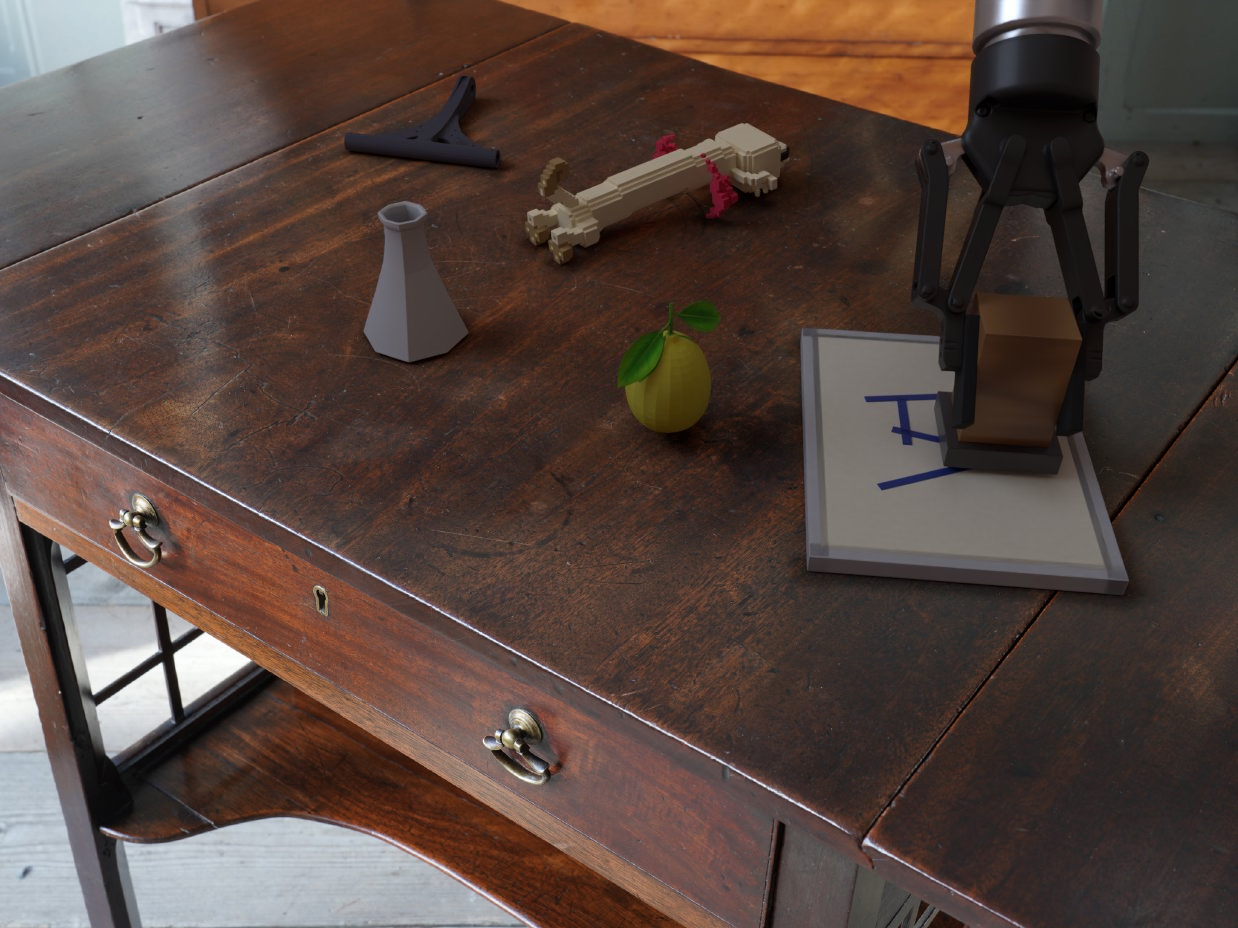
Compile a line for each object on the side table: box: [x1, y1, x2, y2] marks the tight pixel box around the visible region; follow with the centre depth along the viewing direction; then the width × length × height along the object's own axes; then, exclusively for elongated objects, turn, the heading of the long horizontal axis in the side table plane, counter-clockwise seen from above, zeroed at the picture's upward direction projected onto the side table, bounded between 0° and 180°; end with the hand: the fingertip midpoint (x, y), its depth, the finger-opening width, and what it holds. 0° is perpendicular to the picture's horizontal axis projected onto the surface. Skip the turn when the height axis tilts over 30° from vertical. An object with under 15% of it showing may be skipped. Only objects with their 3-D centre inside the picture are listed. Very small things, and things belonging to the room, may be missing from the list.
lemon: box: [616, 299, 722, 434], centre depth 78 cm, size 7×6×10 cm
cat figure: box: [524, 122, 790, 265], centre depth 101 cm, size 10×9×25 cm
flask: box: [363, 200, 469, 363], centre depth 86 cm, size 7×7×10 cm
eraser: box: [934, 291, 1082, 475], centre depth 75 cm, size 7×6×10 cm
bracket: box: [343, 75, 501, 169], centre depth 116 cm, size 14×15×3 cm
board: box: [799, 327, 1130, 596], centre depth 79 cm, size 18×24×1 cm
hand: (1015, 429), depth 73 cm, fingers closed on eraser, 5 cm apart
